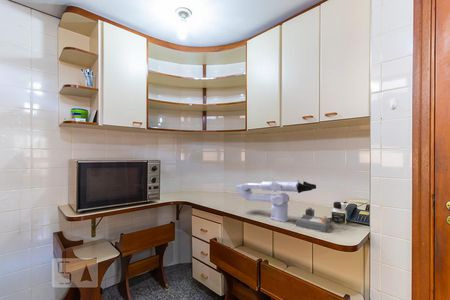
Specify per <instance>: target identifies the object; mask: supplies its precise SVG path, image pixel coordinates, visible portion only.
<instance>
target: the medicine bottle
mask: <svg viewBox="0 0 450 300" xmlns="http://www.w3.org/2000/svg"><path fill="white" fill-rule="evenodd" d="M347 212H348V211H347V210H346V203H344V202H341V201H334V202H333V209H332V210H331V224H334V225H335V224H336V225H342V226H346V224H347V221H346V218H347V215H348V214H347Z"/></svg>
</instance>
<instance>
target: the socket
mask: <svg viewBox="0 0 450 300" xmlns="http://www.w3.org/2000/svg"><path fill="white" fill-rule="evenodd" d="M313 217H314V218H320V219H322V218H323V217H321V216H320V217H319V216H315V215H314V216H309V215H306V214H302V216H301V217H300V218H296V227H300V228H303V229H307V230H313V231H316V232H317V231H318V232H323V233H326V232H327V231H329V229H330V227H331V224H332V220H331V219H330V218H327V222H326V223H320V222H315V221H310V219H312V218H313Z"/></svg>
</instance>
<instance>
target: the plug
mask: <svg viewBox="0 0 450 300" xmlns="http://www.w3.org/2000/svg"><path fill="white" fill-rule="evenodd" d="M305 215H309V216H314V217H315V209H313V208H312V207H308V208H307V209H305Z"/></svg>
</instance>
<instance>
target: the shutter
mask: <svg viewBox="0 0 450 300" xmlns="http://www.w3.org/2000/svg"><path fill="white" fill-rule="evenodd" d="M314 217H315V216H314ZM314 217H313V218H312V219H310V221H315V222H320V223H326V222H327V219H328V217H327V216H326V215H325V216H323V217H320V218H322V219H320V218H314Z"/></svg>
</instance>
